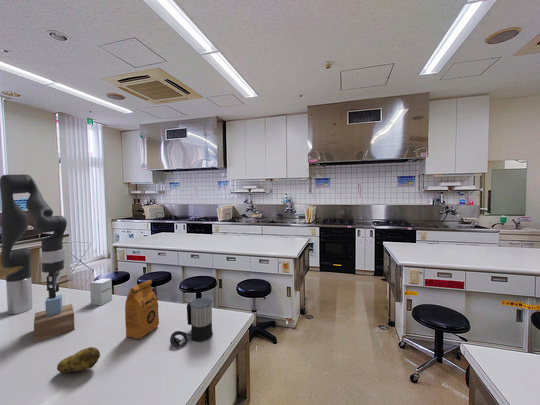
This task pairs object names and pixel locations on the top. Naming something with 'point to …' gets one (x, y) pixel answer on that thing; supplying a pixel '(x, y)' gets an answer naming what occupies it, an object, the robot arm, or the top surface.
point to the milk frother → (196, 322)
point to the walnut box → (53, 323)
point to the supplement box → (101, 291)
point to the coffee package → (141, 310)
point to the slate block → (53, 306)
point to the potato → (79, 360)
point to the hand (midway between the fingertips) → (54, 295)
